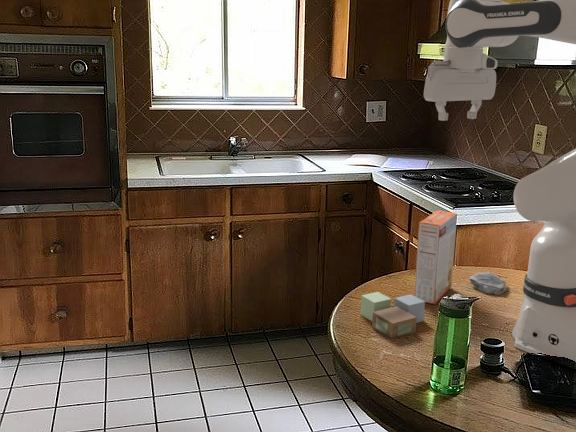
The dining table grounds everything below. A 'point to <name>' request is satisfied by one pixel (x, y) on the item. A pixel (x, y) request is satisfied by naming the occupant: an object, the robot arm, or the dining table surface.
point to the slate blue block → (411, 306)
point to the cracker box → (435, 256)
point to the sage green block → (373, 304)
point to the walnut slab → (394, 322)
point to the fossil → (488, 283)
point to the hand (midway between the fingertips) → (457, 119)
